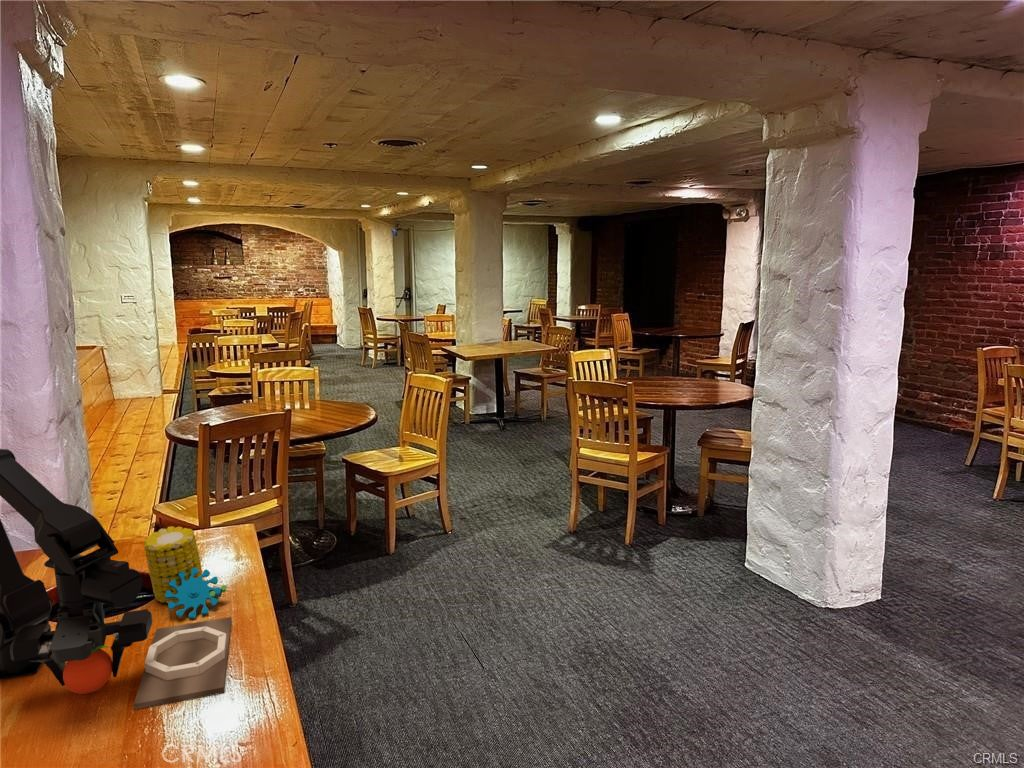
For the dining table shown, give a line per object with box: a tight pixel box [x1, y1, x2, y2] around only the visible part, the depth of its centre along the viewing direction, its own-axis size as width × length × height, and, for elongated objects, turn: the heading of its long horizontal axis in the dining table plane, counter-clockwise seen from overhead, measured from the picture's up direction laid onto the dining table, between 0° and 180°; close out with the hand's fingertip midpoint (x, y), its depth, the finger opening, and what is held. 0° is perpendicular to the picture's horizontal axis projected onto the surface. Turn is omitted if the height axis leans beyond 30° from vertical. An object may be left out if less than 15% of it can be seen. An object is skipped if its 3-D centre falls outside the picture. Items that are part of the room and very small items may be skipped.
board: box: [133, 616, 233, 711], centre depth 117 cm, size 13×22×1 cm, turn 19°
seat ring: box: [144, 626, 227, 680], centre depth 117 cm, size 12×12×2 cm
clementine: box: [63, 644, 113, 695], centre depth 109 cm, size 8×7×7 cm
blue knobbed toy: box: [165, 568, 228, 620], centre depth 134 cm, size 11×6×10 cm
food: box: [143, 525, 205, 604], centre depth 137 cm, size 15×12×10 cm
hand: (90, 680), depth 109 cm, fingers closed on clementine, 7 cm apart
